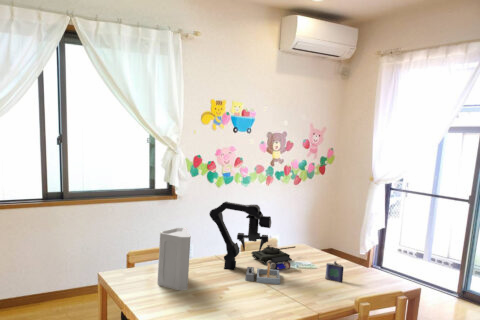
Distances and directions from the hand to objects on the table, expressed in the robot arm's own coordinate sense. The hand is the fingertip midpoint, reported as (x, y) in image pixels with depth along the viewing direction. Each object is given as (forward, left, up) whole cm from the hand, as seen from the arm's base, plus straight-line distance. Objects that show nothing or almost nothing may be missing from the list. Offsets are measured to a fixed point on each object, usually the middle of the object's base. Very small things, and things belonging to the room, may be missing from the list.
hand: (251, 251), depth 207 cm
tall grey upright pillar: (-42, -25, -13) cm, 51 cm away
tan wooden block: (+10, -8, -13) cm, 18 cm away
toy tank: (+17, +28, -14) cm, 35 cm away
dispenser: (0, -8, -13) cm, 15 cm away
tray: (+10, -8, -13) cm, 19 cm away
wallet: (+50, -1, -13) cm, 52 cm away
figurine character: (+18, +9, -13) cm, 24 cm away
